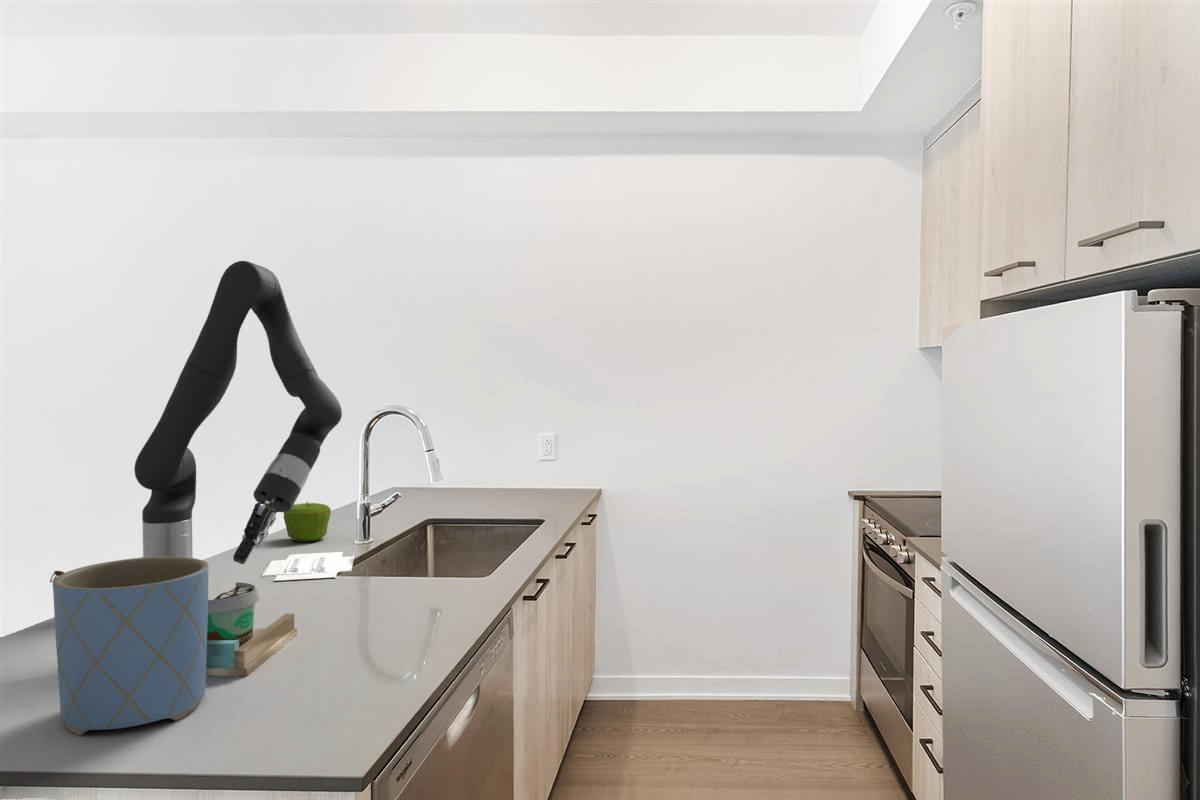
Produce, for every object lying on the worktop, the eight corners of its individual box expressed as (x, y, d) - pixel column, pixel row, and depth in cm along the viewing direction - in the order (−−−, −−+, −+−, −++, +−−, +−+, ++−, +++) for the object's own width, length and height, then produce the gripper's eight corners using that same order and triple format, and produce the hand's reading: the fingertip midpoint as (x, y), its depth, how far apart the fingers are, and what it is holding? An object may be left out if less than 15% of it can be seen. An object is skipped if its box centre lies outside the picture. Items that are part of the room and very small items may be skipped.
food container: (238, 662, 129) (237, 601, 129) (201, 662, 129) (200, 601, 129) (272, 637, 142) (271, 581, 141) (238, 637, 142) (237, 581, 141)
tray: (257, 585, 183) (257, 569, 183) (274, 562, 210) (274, 548, 210) (350, 580, 189) (350, 564, 189) (355, 558, 216) (355, 544, 216)
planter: (40, 751, 101) (36, 595, 101) (71, 696, 119) (68, 563, 118) (206, 725, 109) (204, 580, 108) (213, 677, 126) (211, 551, 126)
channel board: (172, 675, 127) (171, 643, 127) (231, 634, 147) (231, 606, 147) (247, 676, 127) (246, 643, 127) (296, 635, 147) (296, 607, 146)
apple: (275, 543, 226) (275, 504, 226) (299, 535, 238) (298, 497, 238) (316, 545, 224) (316, 505, 224) (338, 536, 236) (337, 498, 236)
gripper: (263, 489, 160) (218, 566, 150) (265, 459, 150) (217, 539, 139) (299, 503, 161) (257, 580, 151) (303, 474, 151) (258, 555, 140)
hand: (238, 560), depth 145 cm, fingers closed
